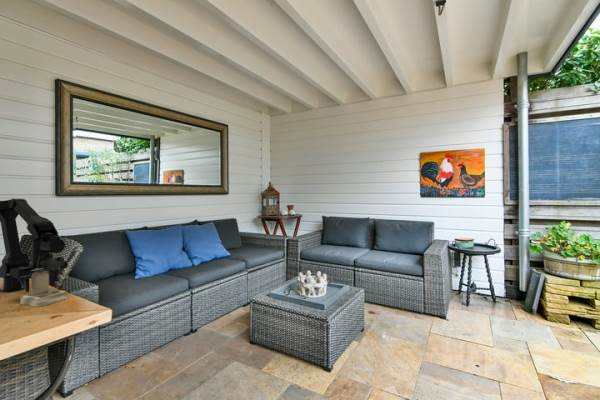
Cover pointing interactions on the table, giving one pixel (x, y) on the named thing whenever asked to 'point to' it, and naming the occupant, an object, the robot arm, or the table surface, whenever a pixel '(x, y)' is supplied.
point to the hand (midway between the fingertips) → (40, 288)
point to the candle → (39, 281)
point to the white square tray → (43, 297)
